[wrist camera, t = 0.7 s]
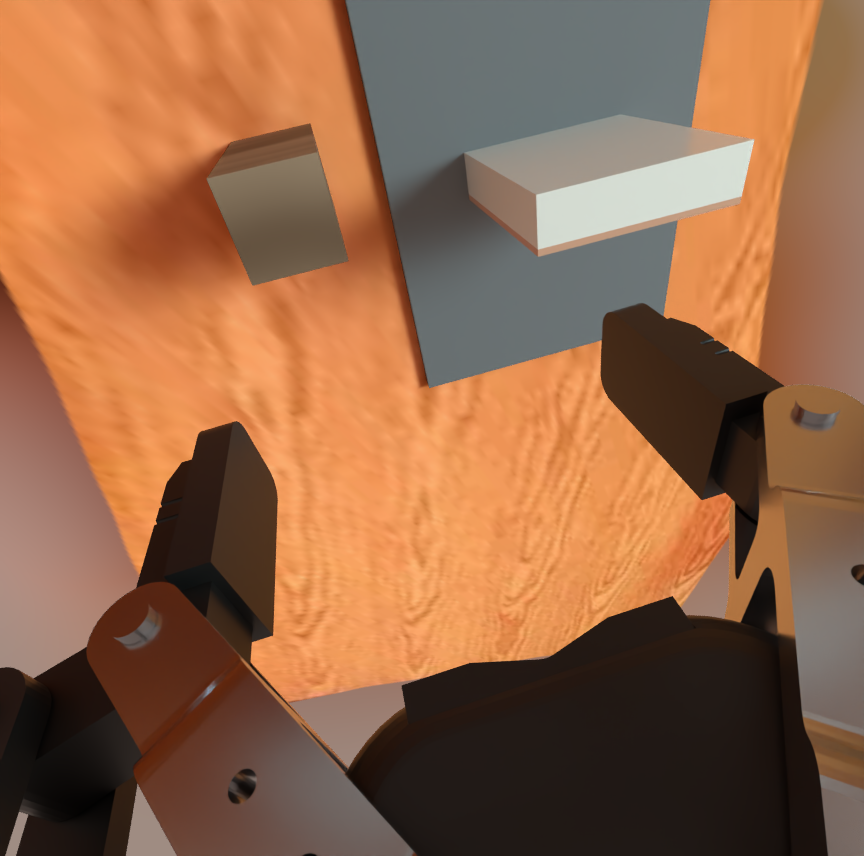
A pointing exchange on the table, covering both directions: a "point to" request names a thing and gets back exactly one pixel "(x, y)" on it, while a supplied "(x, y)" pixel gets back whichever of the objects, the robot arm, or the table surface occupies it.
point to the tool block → (278, 204)
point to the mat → (503, 122)
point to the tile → (605, 180)
